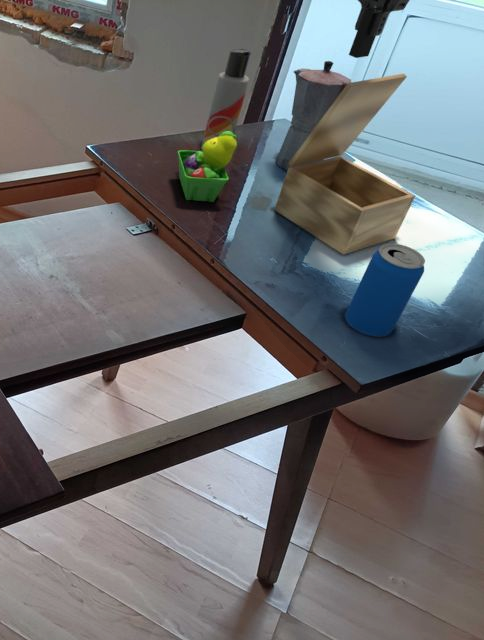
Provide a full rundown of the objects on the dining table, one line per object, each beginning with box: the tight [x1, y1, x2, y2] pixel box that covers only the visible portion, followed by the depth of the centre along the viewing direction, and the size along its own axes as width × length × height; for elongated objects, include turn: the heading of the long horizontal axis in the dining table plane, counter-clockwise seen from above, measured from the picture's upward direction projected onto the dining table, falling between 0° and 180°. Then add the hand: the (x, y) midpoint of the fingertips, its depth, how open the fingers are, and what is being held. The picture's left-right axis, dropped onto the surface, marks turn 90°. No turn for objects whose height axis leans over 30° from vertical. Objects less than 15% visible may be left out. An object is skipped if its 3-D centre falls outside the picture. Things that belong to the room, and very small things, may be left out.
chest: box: [274, 155, 416, 255], centre depth 116 cm, size 16×13×9 cm
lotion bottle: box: [200, 48, 252, 152], centre depth 133 cm, size 6×6×20 cm
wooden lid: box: [288, 73, 408, 167], centre depth 111 cm, size 16×13×1 cm
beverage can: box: [344, 243, 426, 337], centre depth 94 cm, size 6×6×12 cm
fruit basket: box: [177, 131, 238, 203], centre depth 123 cm, size 11×9×11 cm
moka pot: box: [275, 60, 352, 171], centre depth 130 cm, size 10×15×20 cm, turn 40°
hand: (358, 55), depth 106 cm, fingers closed
